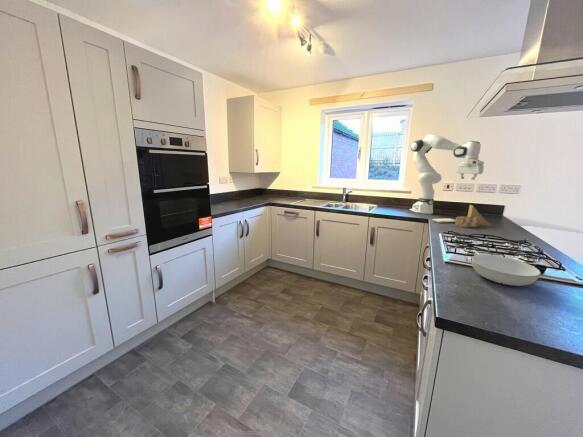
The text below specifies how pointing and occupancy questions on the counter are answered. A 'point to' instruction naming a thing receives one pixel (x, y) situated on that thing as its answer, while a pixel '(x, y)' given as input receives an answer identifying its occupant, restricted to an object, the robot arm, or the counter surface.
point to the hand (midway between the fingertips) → (467, 179)
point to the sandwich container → (475, 213)
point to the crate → (467, 221)
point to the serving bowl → (505, 270)
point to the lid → (443, 220)
